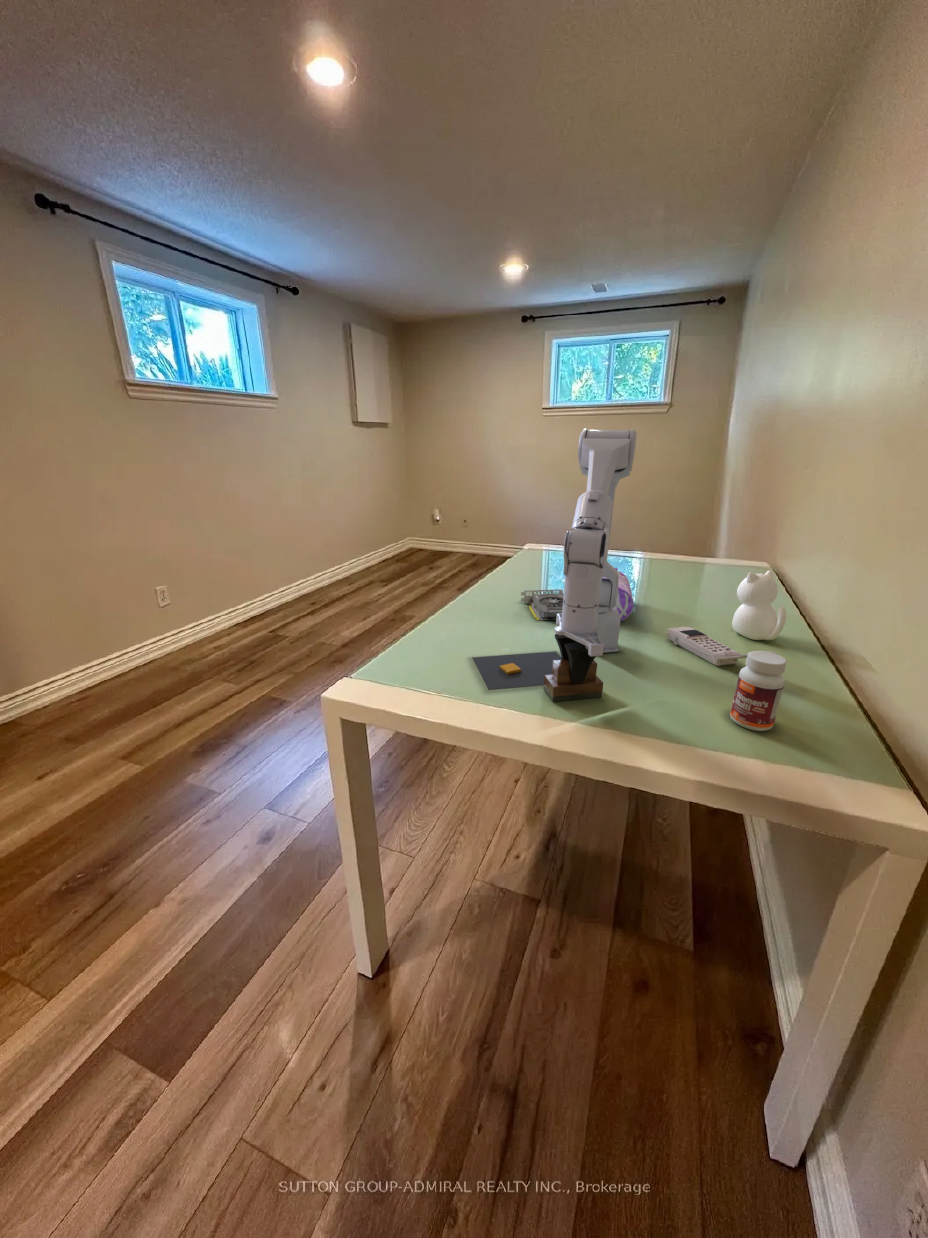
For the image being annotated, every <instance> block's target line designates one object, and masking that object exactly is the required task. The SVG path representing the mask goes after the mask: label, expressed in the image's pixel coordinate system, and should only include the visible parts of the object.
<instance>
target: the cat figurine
mask: <svg viewBox="0 0 928 1238" xmlns="http://www.w3.org/2000/svg"><path fill="white" fill-rule="evenodd" d="M773 575H774V574H773V571H772V570H769V569H768V570H767V571H766V572H765V573H754V572H753V571H751V572H748V574H747V576H746V577H745V578H744V579H742V581H741V582H740V583H739V585H738V587H737V590H736V596H737V598H738V601H740V603H741V605H740V606H739V607H737V608H736V610H735V612H734V614H733V617H732V623H731V627H732V629H733V631H734V632H735V633H737V634H739V635H741V636H743V637H745V638H747V639H750V640H752V641H772V640H775V639H776V638H778V636H779V635H780V634H781V632H782V631H783V629H784V627H785V625H786V621H787V610H786V607H784V606H779V608H778V612H776V610H775V608H774V607H773V606H772V605H771V604H773V602H775V600H776V599H777V596H778V593H779V587H778V583H777V581H776V580H775V579H774V576H773ZM777 613H778V614H777Z"/></svg>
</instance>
